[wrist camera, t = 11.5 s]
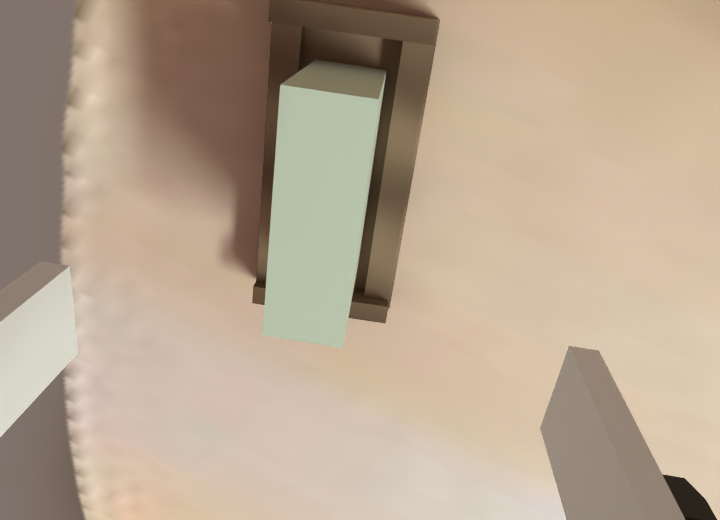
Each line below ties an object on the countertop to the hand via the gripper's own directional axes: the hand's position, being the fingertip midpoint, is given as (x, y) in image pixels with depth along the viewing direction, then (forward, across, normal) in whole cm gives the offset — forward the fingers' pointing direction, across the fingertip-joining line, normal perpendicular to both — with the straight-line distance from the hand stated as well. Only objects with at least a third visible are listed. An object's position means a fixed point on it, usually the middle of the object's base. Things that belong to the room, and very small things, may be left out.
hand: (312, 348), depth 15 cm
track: (+22, -2, -2) cm, 22 cm away
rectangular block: (+21, -2, -1) cm, 21 cm away
